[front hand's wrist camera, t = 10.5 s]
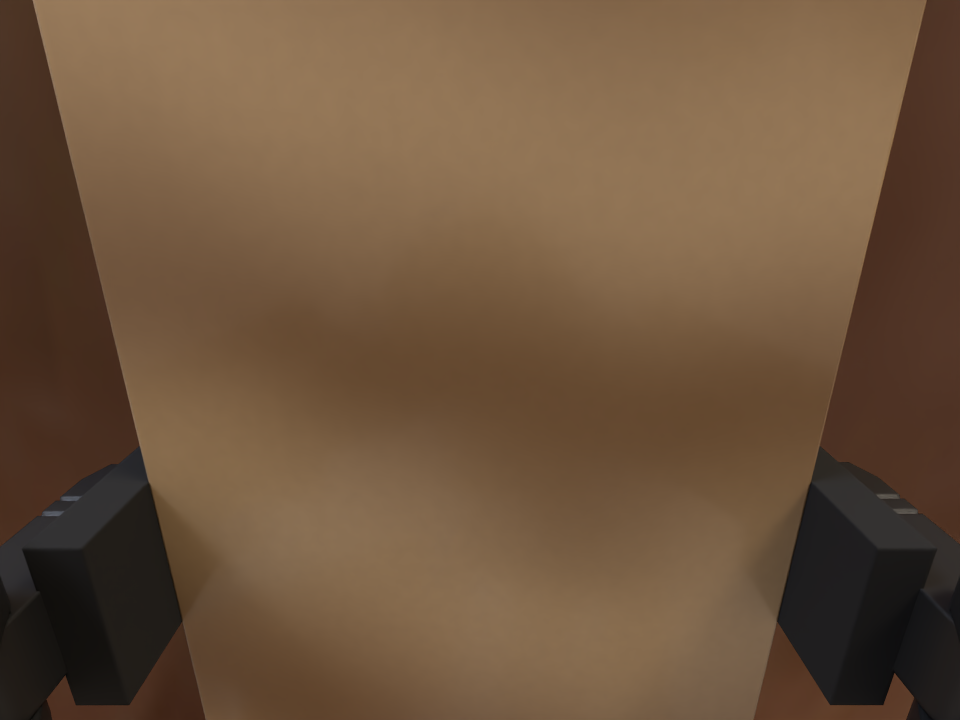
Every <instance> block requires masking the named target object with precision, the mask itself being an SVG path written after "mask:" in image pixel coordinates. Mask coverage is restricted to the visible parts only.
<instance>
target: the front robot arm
mask: <svg viewBox="0 0 960 720" xmlns="http://www.w3.org/2000/svg"><path fill="white" fill-rule="evenodd" d="M181 622H182V619H181V615H180V610H179V606H178V602H177V598H176V594H175V590H174V585H173V581H172V577H171V573H170V569H169V565H168V560H167V556H166V552H165V548H164V544H163V540H162V535H161V531H160V527H159V523H158V519H157V515H156V511H155V506H154V502H153V498H152V494H151V490H150V486H149V481H148V477H147V473H146V469H145V465H144V461H143V456H142V452H141V448H140V446H139V447H138V448H137V449H136V450H134V451H133V452H132V453H131V454H130V455H129V456H128V457H126V458H125V459H124V460H123V461H122V462H121V463H120V464H111V465H109V466H107V467H105V468H103V469H101V470H99V471H97V472H95V473H93V474H91V475H89V476H88V477H86V478H84V479H82V480H81V481H79V482H78V483H77V484H76V485H74V486H73V487H72V488H71V489H70V490H68V491H67V492H66V493H65V494H64V495H62V496H61V497H60V501H55V502H54V503H53V504H51V505H50V506H49V507H48V508H47V509H45V510H44V511H43V512H42V516H37V517H36V518H35V519H33V520H32V521H31V522H30V523H29V524H27V525H26V526H25V527H24V528H22V529H21V530H20V531H19V532H18V533H16V534H15V535H14V536H13V537H12V538H10V539H9V540H8V541H7V542H6V543H4V544H3V545H2V546H1V547H0V720H52V717H51V711H50V708H49V706H48V703H47V700H46V699H47V698H48V696H49V695H50V694H51V692H52V691H53V690H54V689H55V687H56V686H57V685H58V684H59V682H60V681H61V680H62V679H63V677H64V676H65V675H66V678H67V681H68V684H69V686H70V689H71V692H72V695H73V698H74V701H75V704H76V705H130V703H131V701H132V700H133V698H134V697H135V695H136V693H137V692H138V690H139V689H140V687H141V686H142V684H143V682H144V681H145V679H146V678H147V676H148V674H149V673H150V671H151V670H152V668H153V667H154V665H155V663H156V662H157V660H158V659H159V657H160V655H161V654H162V652H163V651H164V649H165V648H166V646H167V644H168V643H169V641H170V640H171V638H172V636H173V635H174V633H175V632H176V630H177V629H178V627H179V625H180V624H181ZM777 622H778V623H779V625H780V626H781V628H782V629H783V631H784V633H785V634H786V636H787V637H788V639H789V641H790V642H791V644H792V645H793V647H794V648H795V650H796V652H797V653H798V655H799V656H800V658H801V660H802V661H803V663H804V664H805V666H806V667H807V669H808V671H809V672H810V674H811V675H812V677H813V679H814V680H815V682H816V683H817V685H818V686H819V688H820V690H821V691H822V693H823V694H824V696H825V698H826V699H827V701H828V702H829V704H830V705H883V704H884V701H885V699H886V696H887V693H888V690H889V687H890V684H891V681H892V678H893V675H894V673H895V674H896V675H897V676H898V677H899V679H900V680H901V681H902V682H903V684H904V685H905V686H906V688H907V689H908V690H909V691H910V693H911V694H912V695H913V696H914V700H913V703H912V706H911V708H910V711H909V714H908V716H907V719H906V720H960V544H959V543H957V542H956V541H955V540H954V539H953V538H951V537H950V536H949V535H948V534H946V533H945V532H944V531H943V530H942V529H940V528H939V527H938V526H937V525H935V524H934V523H933V522H932V521H931V520H929V519H928V518H927V517H926V516H925V515H923V514H918V510H917V509H916V508H915V507H914V506H912V505H911V504H910V503H909V502H907V501H906V500H905V499H900V495H899V494H898V493H896V492H895V491H894V490H893V489H892V488H890V487H889V486H888V485H887V484H886V483H884V482H883V481H882V480H881V479H879V478H878V477H876V476H874V475H872V474H871V473H869V472H867V471H865V470H863V469H861V468H859V467H857V466H855V465H853V464H851V463H849V462H838V461H836V460H835V459H834V458H833V457H832V456H831V455H829V454H828V453H827V452H826V451H825V450H824V449H823V448H821V447H820V446H819V450H818V454H817V458H816V462H815V467H814V471H813V475H812V479H811V483H810V487H809V492H808V496H807V500H806V504H805V508H804V512H803V517H802V521H801V525H800V529H799V533H798V537H797V541H796V546H795V550H794V554H793V558H792V562H791V566H790V571H789V575H788V579H787V583H786V587H785V591H784V596H783V600H782V604H781V608H780V612H779V616H778V621H777Z"/></svg>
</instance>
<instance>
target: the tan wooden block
mask: <svg viewBox="0 0 960 720" xmlns="http://www.w3.org/2000/svg"><path fill="white" fill-rule="evenodd" d="M926 1H927V0H33V3H34V7H35V11H36V15H37V20H38V24H39V28H40V32H41V36H42V40H43V45H44V49H45V53H46V57H47V61H48V65H49V70H50V74H51V78H52V82H53V86H54V90H55V95H56V99H57V103H58V107H59V111H60V115H61V119H62V124H63V128H64V132H65V136H66V140H67V144H68V149H69V153H70V157H71V161H72V165H73V169H74V174H75V178H76V182H77V186H78V190H79V194H80V199H81V203H82V207H83V211H84V215H85V219H86V223H87V228H88V232H89V236H90V240H91V244H92V248H93V253H94V257H95V261H96V265H97V269H98V273H99V278H100V282H101V286H102V290H103V294H104V298H105V303H106V307H107V311H108V315H109V319H110V323H111V327H112V332H113V336H114V340H115V344H116V348H117V352H118V357H119V361H120V365H121V369H122V373H123V377H124V382H125V386H126V390H127V394H128V398H129V402H130V407H131V411H132V415H133V419H134V423H135V427H136V431H137V436H138V440H139V444H140V448H141V452H142V456H143V461H144V465H145V469H146V473H147V477H148V481H149V486H150V490H151V494H152V498H153V502H154V506H155V511H156V515H157V519H158V523H159V527H160V531H161V535H162V540H163V544H164V548H165V552H166V556H167V560H168V565H169V569H170V573H171V577H172V581H173V585H174V590H175V594H176V598H177V602H178V606H179V610H180V615H181V619H182V623H183V627H184V631H185V635H186V639H187V644H188V648H189V652H190V656H191V660H192V664H193V669H194V673H195V677H196V681H197V685H198V689H199V694H200V698H201V702H202V706H203V710H204V714H205V719H206V720H754V716H755V712H756V708H757V704H758V700H759V695H760V691H761V687H762V683H763V679H764V675H765V670H766V666H767V662H768V658H769V654H770V650H771V645H772V641H773V637H774V633H775V629H776V625H777V621H778V616H779V612H780V608H781V604H782V600H783V596H784V591H785V587H786V583H787V579H788V575H789V571H790V566H791V562H792V558H793V554H794V550H795V546H796V541H797V537H798V533H799V529H800V525H801V521H802V517H803V512H804V508H805V504H806V500H807V496H808V492H809V487H810V483H811V479H812V475H813V471H814V467H815V462H816V458H817V454H818V450H819V446H820V442H821V437H822V433H823V429H824V425H825V421H826V417H827V413H828V408H829V404H830V400H831V396H832V392H833V388H834V383H835V379H836V375H837V371H838V367H839V363H840V358H841V354H842V350H843V346H844V342H845V338H846V334H847V329H848V325H849V321H850V317H851V313H852V309H853V304H854V300H855V296H856V292H857V288H858V284H859V279H860V275H861V271H862V267H863V263H864V259H865V254H866V250H867V246H868V242H869V238H870V234H871V230H872V225H873V221H874V217H875V213H876V209H877V205H878V200H879V196H880V192H881V188H882V184H883V180H884V175H885V171H886V167H887V163H888V159H889V155H890V150H891V146H892V142H893V138H894V134H895V130H896V126H897V121H898V117H899V113H900V109H901V105H902V101H903V96H904V92H905V88H906V84H907V80H908V76H909V71H910V67H911V63H912V59H913V55H914V51H915V46H916V42H917V38H918V34H919V30H920V26H921V22H922V17H923V13H924V9H925V5H926Z"/></svg>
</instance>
